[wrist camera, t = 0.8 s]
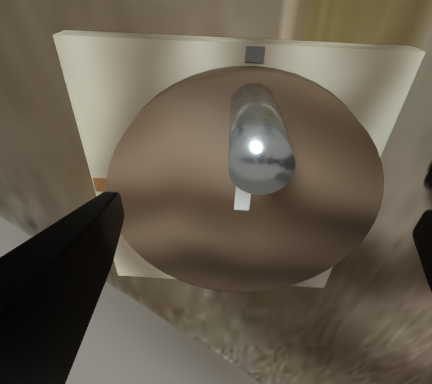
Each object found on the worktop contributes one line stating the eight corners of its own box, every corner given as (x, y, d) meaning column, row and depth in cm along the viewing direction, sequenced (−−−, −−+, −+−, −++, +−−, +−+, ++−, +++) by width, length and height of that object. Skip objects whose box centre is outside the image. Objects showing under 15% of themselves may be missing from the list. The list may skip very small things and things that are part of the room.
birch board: (411, 45, 17) (426, 52, 15) (320, 275, 29) (324, 288, 28) (65, 30, 17) (51, 34, 16) (122, 263, 30) (117, 276, 29)
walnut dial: (330, 278, 27) (360, 375, 20) (134, 266, 27) (104, 358, 21) (420, 73, 16) (546, 144, 9) (90, 57, 16) (-3, 115, 10)
